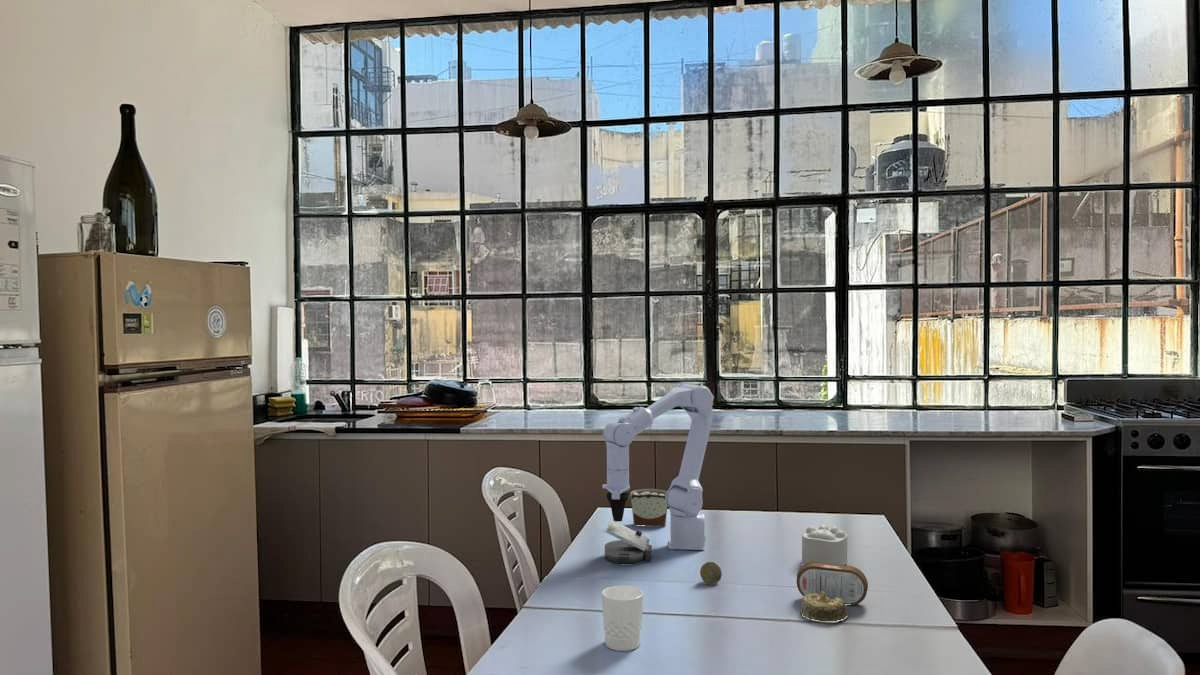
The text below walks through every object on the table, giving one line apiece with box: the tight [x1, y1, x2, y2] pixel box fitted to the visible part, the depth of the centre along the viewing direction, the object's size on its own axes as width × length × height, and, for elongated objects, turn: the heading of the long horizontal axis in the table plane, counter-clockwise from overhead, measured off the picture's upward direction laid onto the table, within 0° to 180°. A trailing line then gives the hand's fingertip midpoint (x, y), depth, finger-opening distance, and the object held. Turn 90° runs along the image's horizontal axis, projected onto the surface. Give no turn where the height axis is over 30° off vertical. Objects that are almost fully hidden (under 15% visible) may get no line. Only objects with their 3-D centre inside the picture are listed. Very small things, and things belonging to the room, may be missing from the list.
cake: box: [800, 591, 848, 621], centre depth 165 cm, size 10×10×5 cm
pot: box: [604, 539, 653, 565], centre depth 204 cm, size 12×17×3 cm
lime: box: [699, 561, 723, 586], centre depth 185 cm, size 4×5×5 cm
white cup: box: [601, 585, 644, 652], centre depth 151 cm, size 8×8×10 cm
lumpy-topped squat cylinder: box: [801, 524, 848, 565], centre depth 201 cm, size 10×13×9 cm
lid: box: [605, 519, 650, 551], centre depth 204 cm, size 12×10×2 cm
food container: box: [628, 488, 669, 527], centre depth 237 cm, size 12×6×10 cm, turn 84°
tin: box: [796, 562, 869, 606], centre depth 172 cm, size 15×3×8 cm, turn 71°
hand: (617, 520), depth 204 cm, fingers closed
